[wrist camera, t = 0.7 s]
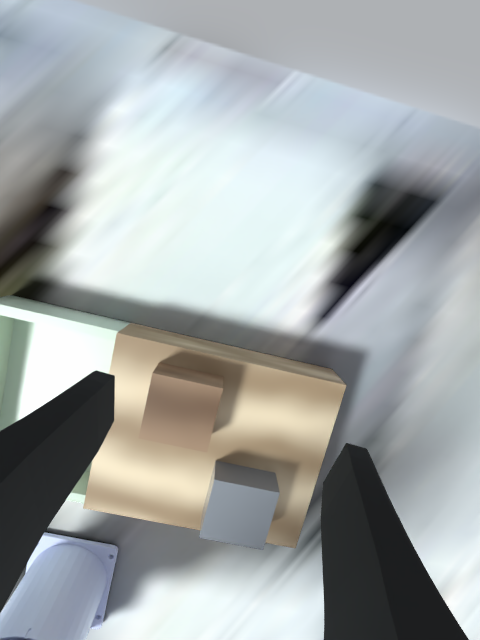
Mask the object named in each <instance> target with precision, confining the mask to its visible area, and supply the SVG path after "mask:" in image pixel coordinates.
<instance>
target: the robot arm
mask: <svg viewBox="0 0 480 640" xmlns="http://www.w3.org/2000/svg"><path fill="white" fill-rule="evenodd" d="M114 404H115V376H114V375H111V374H107V373H104V372H100V371H97V370H96V371H94V372H92V373H90V374H89V375H87V376H86V377H84V378H83V379H81V380H80V381H79V382H77V383H76V384H74V385H73V386H71V387H70V388H68V389H67V390H65V391H64V392H62V393H61V394H59V395H58V396H56V397H55V398H53V399H52V400H50V401H49V402H47V403H45V404H44V405H42V406H41V407H39V408H38V409H36V410H34V411H33V412H31V413H30V414H28V415H26V416H25V417H23V418H22V419H20V420H18V421H16V422H15V423H13V424H11V425H10V426H8V427H6V428H4V429H3V430H1V431H0V612H1V610H2V609H3V607H4V605H5V603H6V601H7V599H8V597H9V596H10V594H11V592H12V590H13V588H14V586H15V584H16V582H17V581H18V579H19V577H20V575H21V573H22V571H23V570H24V568H25V566H26V564H27V568H26V574H25V576H24V577H23V579H22V580H21V582H20V584H19V585H18V587H17V588H16V590H15V591H14V593H13V595H12V596H11V598H10V599H9V601H8V603H7V604H6V606H5V607H4V609H3V610H2V612H1V614H0V640H86V638H87V635H88V633H89V630H90V629H100V628H101V626H102V623H103V619H104V614H105V609H106V605H107V600H108V595H109V591H110V586H111V581H112V577H113V572H114V568H115V563H116V558H117V554H118V547H117V546H115V545H111V544H106V543H100V542H95V541H89V540H84V539H78V538H73V537H67V536H62V535H56V534H51V533H45V531H46V529H47V528H48V526H49V524H50V523H51V521H52V520H53V518H54V517H55V515H56V514H57V512H58V511H59V509H60V508H61V506H62V505H63V503H64V502H65V500H66V499H67V497H68V496H69V494H70V493H71V491H72V490H73V488H74V487H75V485H76V484H77V483H78V481H79V480H80V478H81V477H82V475H83V474H84V472H85V471H86V469H87V468H88V466H89V465H90V463H91V462H92V460H93V459H94V457H95V456H96V454H97V453H98V451H99V449H100V447H101V445H102V444H103V442H104V440H105V438H106V436H107V434H108V432H109V430H110V428H111V426H112V424H113V422H114ZM321 537H322V561H323V585H324V624H325V625H324V640H469V639H468V638H467V636H466V635H465V633H464V632H463V630H462V629H461V627H460V626H459V624H458V622H457V621H456V619H455V618H454V616H453V614H452V613H451V611H450V610H449V608H448V606H447V605H446V603H445V601H444V600H443V598H442V596H441V595H440V593H439V591H438V590H437V588H436V586H435V585H434V583H433V581H432V579H431V578H430V576H429V574H428V572H427V571H426V569H425V567H424V565H423V563H422V561H421V560H420V558H419V556H418V554H417V552H416V551H415V549H414V547H413V545H412V543H411V541H410V539H409V537H408V535H407V533H406V531H405V529H404V527H403V525H402V523H401V521H400V519H399V517H398V515H397V513H396V511H395V509H394V507H393V505H392V503H391V501H390V499H389V496H388V494H387V492H386V490H385V488H384V486H383V483H382V481H381V479H380V477H379V475H378V472H377V470H376V468H375V466H374V463H373V461H372V459H371V457H370V454H369V452H368V450H367V449H365V448H362V447H358V446H355V445H352V444H348V443H346V444H345V446H344V448H343V450H342V451H341V453H340V455H339V457H338V458H337V460H336V462H335V463H334V465H333V467H332V469H331V470H330V472H329V474H328V476H327V477H326V479H325V481H324V483H323V494H322V508H321ZM111 555H113V556H111Z"/></svg>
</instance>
